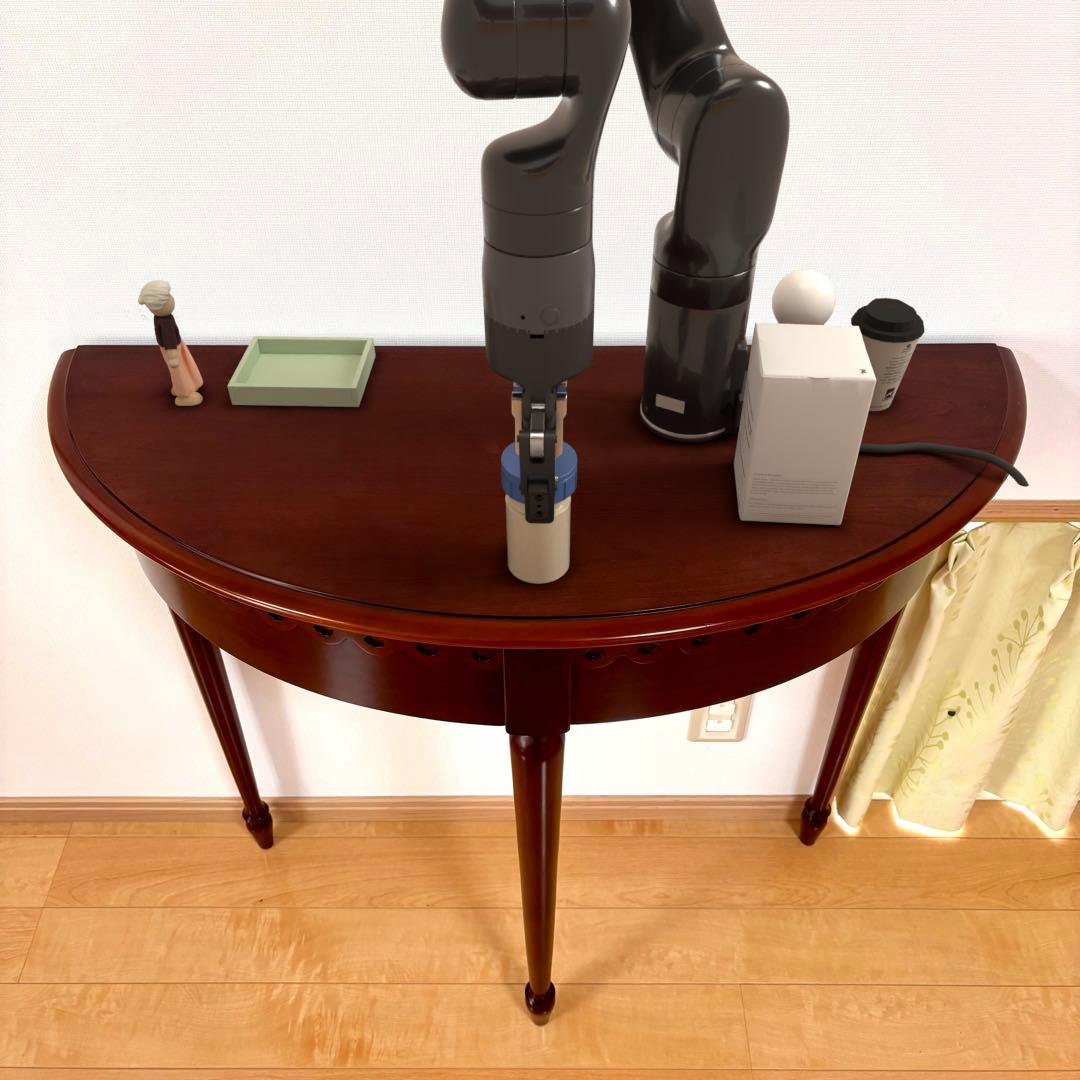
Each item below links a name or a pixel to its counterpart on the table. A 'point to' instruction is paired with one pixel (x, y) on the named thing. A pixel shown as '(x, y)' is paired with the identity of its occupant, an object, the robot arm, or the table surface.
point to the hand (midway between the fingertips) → (541, 493)
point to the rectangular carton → (801, 422)
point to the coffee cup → (888, 343)
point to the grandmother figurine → (172, 343)
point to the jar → (538, 543)
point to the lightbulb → (803, 298)
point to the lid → (564, 470)
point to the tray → (303, 371)
